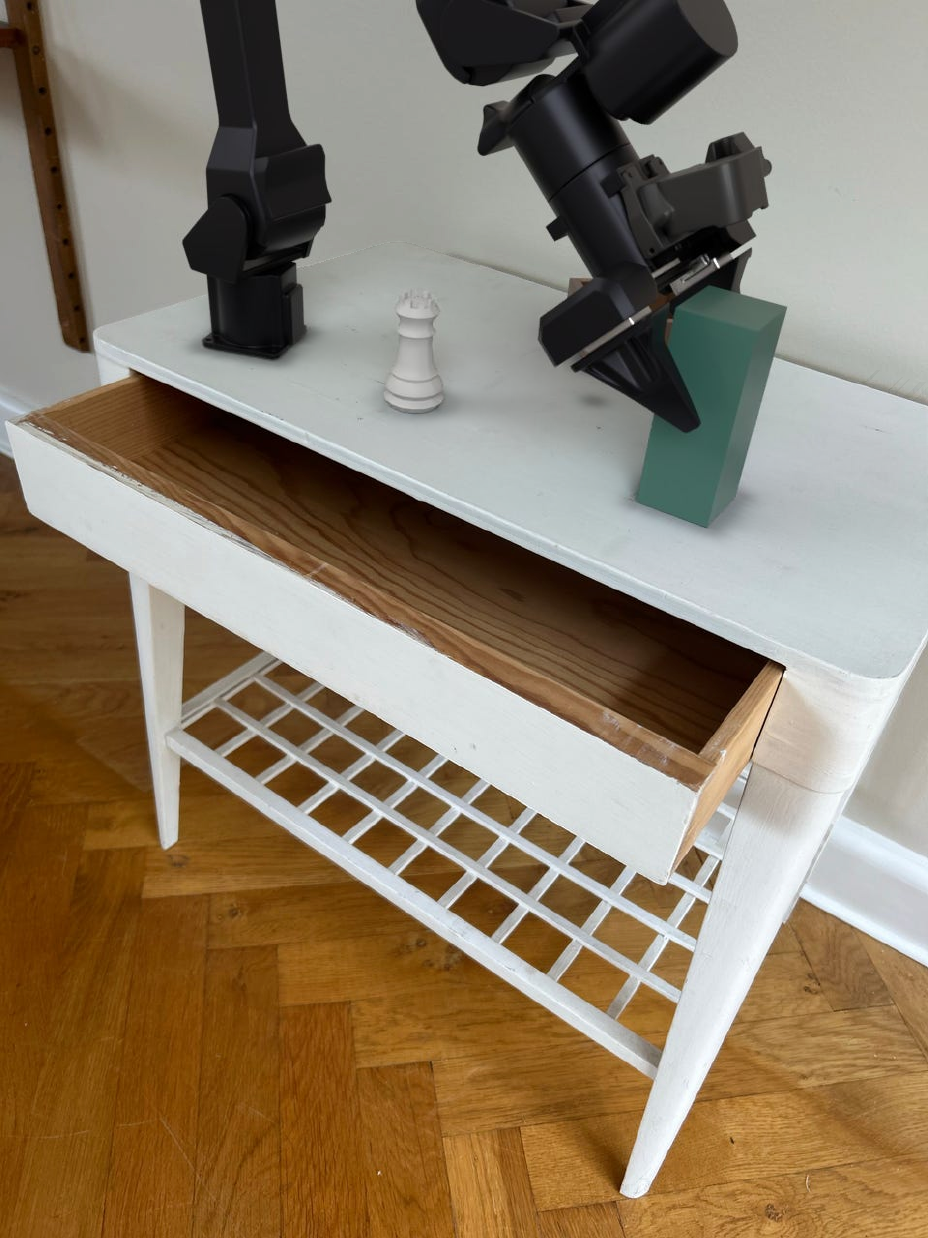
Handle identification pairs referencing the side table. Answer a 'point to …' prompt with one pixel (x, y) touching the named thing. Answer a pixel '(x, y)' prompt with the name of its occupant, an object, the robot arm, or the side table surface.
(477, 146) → the robot arm
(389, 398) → the rook chess piece
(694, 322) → the box
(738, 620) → the side table surface
